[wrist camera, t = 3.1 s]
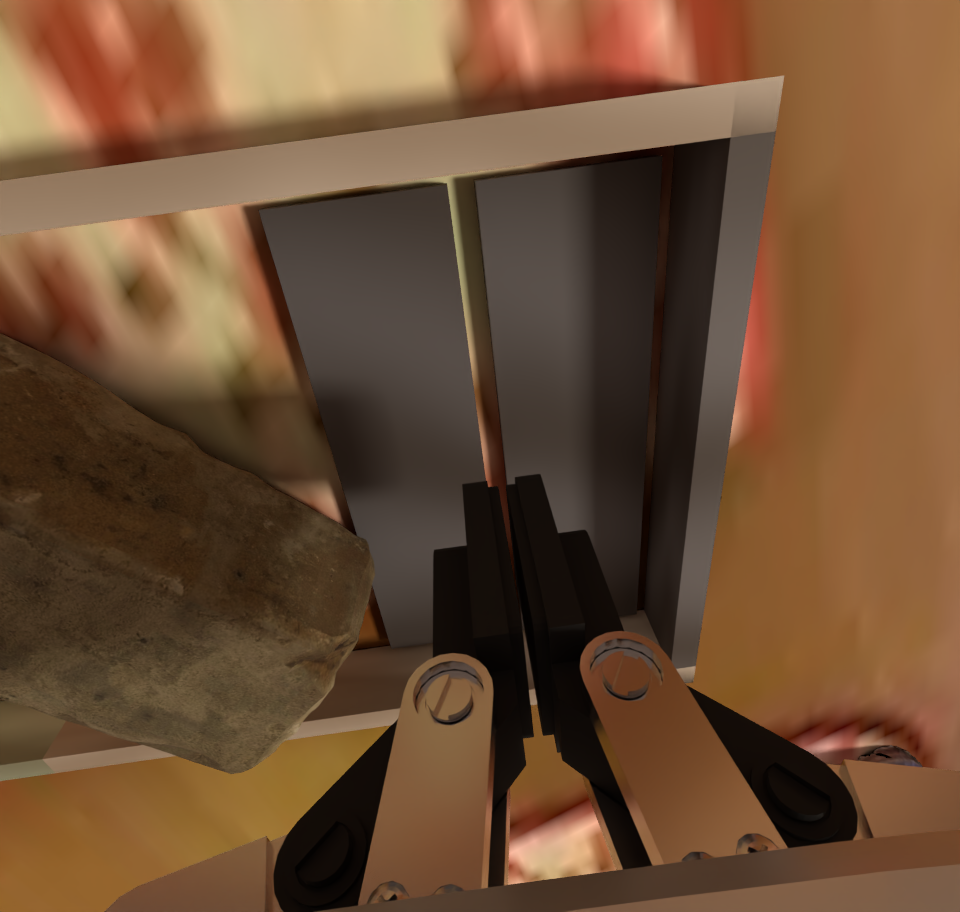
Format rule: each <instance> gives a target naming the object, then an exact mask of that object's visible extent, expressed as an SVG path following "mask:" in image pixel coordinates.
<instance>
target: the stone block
mask: <svg viewBox="0 0 960 912" xmlns="http://www.w3.org/2000/svg"><path fill="white" fill-rule="evenodd" d="M374 576H375V567H374V561H373V558H372V556H371V553H370V550H369V544H368V542H367V541H366V539H364V538H361V537H359V536H356V535H354V534H353V533H351V532H350V531H348V530H347V529H346V528H344V527H343V526H342V525H340V524H339V523H337V522H336V521H334V520H332V519H330V518H328V517H326V516H324V515H322V514H320V513H318V512H316V511H314V510H313V509H311V508H309V507H307V506H306V505H304V504H302V503H300V502H299V501H297V500H295V499H293V498H291V497H289V496H287V495H285V494H283V493H281V492H279V491H277V490H275V489H273V488H272V487H270V486H269V485H268V484H266V483H265V482H264V481H262V480H261V479H260V478H258V477H257V476H256V475H254V474H253V473H250V472H247V471H245V470H242V469H239V468H236V467H233V466H231V465H229V464H227V463H224V462H222V461H220V460H218V459H216V458H214V457H212V456H209V455H207V454H205V453H204V452H203V451H202V450H201V449H200V448H199V447H198V446H197V445H196V444H195V443H194V442H193V441H192V440H191V439H190V438H189V437H188V436H187V435H186V433H183V432H180V431H178V430H175V429H172V428H169V427H167V426H164V425H161V424H158V423H156V422H155V421H153V420H152V419H150V418H148V417H147V416H145V415H144V414H142V413H140V412H139V411H137V410H136V409H134V408H133V407H131V406H130V405H128V404H127V403H126V402H124V401H123V400H121V399H120V398H119V397H117V396H116V395H114V394H113V393H112V392H110V391H109V390H107V389H106V388H105V387H103V386H101V385H100V384H98V383H96V382H95V381H93V380H91V379H90V378H88V377H86V376H85V375H83V374H81V373H80V372H78V371H76V370H74V369H73V368H71V367H69V366H67V365H65V364H63V363H61V362H59V361H57V360H55V359H54V358H52V357H50V356H48V355H46V354H44V353H42V352H39V351H37V350H35V349H33V348H31V347H29V346H26V345H24V344H22V343H20V342H18V341H16V340H14V339H11V338H9V337H7V336H5V335H3V334H1V333H0V699H1V700H5V701H8V702H12V703H16V704H19V705H23V706H26V707H29V708H32V709H35V710H37V711H40V712H42V713H45V714H48V715H50V716H53V717H55V718H58V719H62V720H65V721H68V722H72V723H75V724H79V725H82V726H86V727H89V728H91V729H94V730H97V731H100V732H102V733H105V734H108V735H110V736H113V737H117V738H120V739H124V740H127V741H131V742H135V743H138V744H142V745H145V746H148V747H151V748H154V749H157V750H160V751H163V752H166V753H170V754H172V755H175V756H178V757H181V758H184V759H187V760H190V761H193V762H196V763H199V764H202V765H205V766H208V767H211V768H214V769H217V770H221V771H224V772H227V773H230V774H234V773H241V772H244V771H246V770H249V769H251V768H253V767H255V766H256V765H257V764H259V763H260V762H262V761H263V760H264V759H266V758H267V757H269V756H270V755H271V754H272V753H274V752H275V751H276V749H277V748H278V747H279V745H280V744H281V743H283V742H284V741H286V740H287V739H289V738H290V737H291V736H293V735H294V734H295V733H297V731H298V729H299V728H300V726H301V724H302V722H303V721H304V720H305V718H306V717H307V716H308V715H309V714H310V713H311V712H312V711H313V710H315V709H316V708H317V707H318V706H319V705H320V703H321V702H322V701H323V699H324V698H325V697H326V696H327V694H328V693H329V692H330V690H331V689H332V688H333V686H334V683H335V677H336V672H337V671H338V669H339V668H340V666H341V665H342V663H343V662H344V660H345V659H346V658H347V657H348V656H349V654H350V653H351V652H352V650H353V649H354V647H355V645H356V643H357V642H358V639H359V632H360V628H361V626H362V623H363V618H364V614H365V610H366V607H367V604H368V602H369V597H370V592H371V587H372V582H373V579H374Z"/></svg>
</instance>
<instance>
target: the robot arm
mask: <svg viewBox="0 0 960 912" xmlns="http://www.w3.org/2000/svg"><path fill="white" fill-rule="evenodd" d="M462 490H463V503H464V517H465V531H466V544H467V545H465V546H458V547H450V548H443V549H435V550H434V553H433V658H432V659H429V660H427V661H426V662H425V663H423V664H422V665H421V666H420V667H418V668H417V669H416V670H415V672H414V673H413V674H412V676H411V677H410V678H409V680H408V682H407V685H406V688H405V690H404V694H403V698H402V703H401V708H400V712H399V717H398V719H397V720H396V721H395V722H394V723H393V724H392V725H391V726H390V727H389V728H388V729H387V730H386V731H385V732H384V734H383V735H382V736H381V737H380V738H379V739H378V740H377V741H376V742H375V743H374V744H373V745H372V746H371V747H370V748H369V749H368V750H367V751H366V752H365V753H364V754H363V755H362V756H361V757H360V758H359V759H358V760H357V761H356V762H355V763H354V764H353V765H352V766H351V767H350V768H349V769H348V770H347V771H346V772H345V774H344V775H343V776H342V777H341V778H340V779H339V780H338V781H337V782H336V783H335V784H334V785H333V786H332V787H331V788H330V789H329V790H328V791H327V792H326V793H325V794H324V795H323V796H322V797H321V798H320V799H319V800H318V801H317V802H316V803H315V804H314V805H313V806H312V807H311V808H310V809H309V810H308V811H307V812H306V813H305V815H304V816H303V817H302V818H301V819H300V820H299V821H298V822H297V823H296V824H295V826H294V827H293V828H292V830H291V831H290V832H289V833H288V834H287V835H285V836H282V837H280V838H277V839H275V840H272V841H270V840H269V839H268V838H267V836H265V837H263V838H260V839H258V840H255V841H253V842H250V843H247V844H245V845H242V846H240V847H237V848H235V849H232V850H230V851H227V852H224V853H222V854H219V855H217V856H214V857H212V858H209V859H207V860H204V861H201V862H199V863H196V864H194V865H191V866H189V867H186V868H183V869H181V870H178V871H176V872H173V873H171V874H168V875H166V876H163V877H160V878H158V879H155V880H153V881H150V882H148V883H145V884H142V885H140V886H138V887H136V888H134V889H132V890H131V891H129V892H127V893H126V894H124V895H122V896H120V897H119V898H118V899H117V900H116V901H115V902H114V903H113V904H112V905H111V906H110V907H109V908H108V909H107V910H106V911H105V912H960V771H954V770H944V769H934V768H925V767H915V766H905V765H895V764H886V763H876V762H866V761H857V760H847V759H844V760H843V762H842V764H841V765H834V764H825V763H824V762H823V761H821V760H820V759H818V758H817V757H815V756H814V755H812V754H811V753H809V752H808V751H806V750H804V749H802V748H800V747H798V746H797V745H795V744H793V743H791V742H789V741H787V740H786V739H784V738H782V737H780V736H778V735H776V734H775V733H773V732H771V731H769V730H767V729H766V728H764V727H762V726H760V725H758V724H756V723H755V722H753V721H751V720H749V719H747V718H745V717H744V716H742V715H740V714H738V713H736V712H734V711H733V710H731V709H729V708H727V707H725V706H723V705H722V704H720V703H718V702H716V701H714V700H713V699H711V698H709V697H707V696H705V695H703V694H702V693H700V692H698V691H696V690H694V689H692V688H691V687H689V686H687V685H686V684H685V683H684V681H683V679H682V678H681V676H680V675H679V673H678V671H677V670H676V668H675V667H674V665H673V663H672V662H671V660H670V659H669V657H668V656H667V654H666V653H665V652H664V651H663V650H662V649H661V647H660V646H659V645H657V644H656V643H654V642H653V641H652V640H650V639H649V638H647V637H644V636H642V635H639V634H637V633H633V632H625V631H624V629H623V626H622V623H621V621H620V618H619V615H618V612H617V610H616V607H615V604H614V602H613V599H612V596H611V594H610V591H609V588H608V585H607V583H606V580H605V577H604V575H603V572H602V569H601V567H600V564H599V561H598V558H597V556H596V553H595V550H594V548H593V545H592V542H591V540H590V537H589V535H588V532H587V531H586V530H578V531H570V532H563V533H558V531H557V527H556V524H555V521H554V517H553V514H552V511H551V507H550V504H549V501H548V497H547V494H546V491H545V487H544V484H543V480H542V477H541V474H534V475H526V476H519V477H515V484H510V485H506V492H507V501H508V511H509V520H510V529H511V539H512V548H513V557H514V567H515V576H516V584H517V590H518V596H519V602H520V608H521V613H522V619H523V625H524V630H525V636H526V642H527V648H528V653H529V659H530V665H531V671H532V676H533V682H534V688H535V693H536V699H537V705H538V711H539V716H540V722H541V728H542V733H543V736H545V735H552V734H554V738H555V743H556V748H557V753H559V752H561V756H562V760H563V761H564V762H566V763H567V764H568V765H570V766H571V767H572V768H574V769H575V770H576V771H578V772H579V773H581V774H582V776H583V780H584V785H585V788H586V790H587V793H588V796H589V798H590V801H591V804H592V806H593V809H594V812H595V815H596V817H597V820H598V823H599V825H600V828H601V831H602V833H603V836H604V839H605V841H606V844H607V847H608V849H609V852H610V855H611V857H612V860H613V863H614V865H615V868H616V871H609V872H602V873H594V874H587V875H579V876H572V877H564V878H557V879H549V880H542V881H534V882H527V883H519V884H512V885H508V862H509V827H510V786H511V785H512V783H513V782H514V781H515V779H516V778H517V777H518V775H519V774H520V773H521V771H522V770H523V769H524V767H525V766H526V760H525V752H524V744H523V738H530V737H534V733H533V724H532V714H531V705H530V695H529V686H528V676H527V666H526V657H525V647H524V638H523V631H522V624H521V618H520V612H519V606H518V600H517V594H516V588H515V582H514V576H513V571H512V565H511V559H510V553H509V547H508V541H507V536H506V530H505V524H504V518H503V512H502V506H501V500H500V495H499V489H498V486H495V487H488V483H487V481H481V482H474V483H466V484H462Z"/></svg>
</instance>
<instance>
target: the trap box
mask: <svg viewBox="0 0 960 912" xmlns="http://www.w3.org/2000/svg"><path fill="white" fill-rule="evenodd" d="M783 80H784V76H778V77H771V78H763V79H756V80H748V81H741V82H733V83H726V84H718V85H711V86H704V87H696V88H689V89H681V90H674V91H666V92H659V93H651V94H644V95H636V96H629V97H621V98H614V99H607V100H599V101H592V102H584V103H577V104H569V105H562V106H554V107H547V108H539V109H532V110H525V111H517V112H510V113H502V114H495V115H487V116H480V117H472V118H465V119H457V120H450V121H442V122H435V123H428V124H420V125H413V126H405V127H398V128H390V129H383V130H375V131H368V132H360V133H353V134H345V135H338V136H331V137H323V138H316V139H308V140H301V141H293V142H286V143H278V144H271V145H263V146H256V147H249V148H241V149H234V150H226V151H219V152H211V153H204V154H196V155H189V156H181V157H174V158H166V159H159V160H152V161H144V162H137V163H129V164H122V165H114V166H107V167H99V168H92V169H84V170H77V171H70V172H62V173H55V174H47V175H40V176H32V177H25V178H17V179H10V180H2V181H0V236H3V235H10V234H18V233H25V232H33V231H40V230H47V229H55V228H62V227H70V226H77V225H85V224H92V223H99V222H107V221H114V220H122V219H129V218H136V217H144V216H151V215H159V214H166V213H174V212H181V211H188V210H196V209H203V208H211V207H218V206H225V205H233V204H240V203H248V202H255V201H262V200H270V199H277V198H285V197H292V196H300V195H307V194H314V193H322V192H329V191H337V190H344V189H351V188H359V187H366V186H374V185H381V184H389V183H396V182H403V181H411V180H418V179H426V178H433V177H440V176H448V175H455V174H463V173H470V172H478V171H485V170H492V169H500V168H507V167H515V166H522V165H529V164H537V163H544V162H552V161H559V160H567V159H574V158H581V157H589V156H596V155H604V154H611V153H618V152H626V151H633V150H641V149H648V148H656V147H663V146H670V145H674V159H673V174H672V190H671V205H670V220H669V235H668V250H667V265H666V281H665V296H664V311H663V326H662V341H661V356H660V372H659V387H658V402H657V417H656V432H655V447H654V463H653V478H652V493H651V508H650V523H649V538H648V554H647V569H646V584H645V599H644V610H639V611H637V601H638V583H639V565H640V547H641V530H642V512H643V494H644V477H645V459H646V441H647V423H648V406H649V388H650V370H651V352H652V335H653V317H654V299H655V282H656V264H657V246H658V228H659V211H660V193H661V175H662V157H663V156H660V155H653V156H646V157H638V158H631V159H624V160H616V161H609V162H601V163H594V164H587V165H579V166H572V167H564V168H557V169H549V170H542V171H535V172H527V173H520V174H512V175H505V176H498V177H490V178H483V179H475V180H474V185H475V195H476V204H477V213H478V223H479V232H480V241H481V251H482V260H483V269H484V278H485V288H486V297H487V306H488V316H489V325H490V334H491V344H492V353H493V362H494V372H495V381H496V390H497V400H498V409H499V418H500V428H501V437H502V446H503V456H504V465H505V474H506V484H507V485H510V484H515V477H519V476H526V475H534V474H541V477H542V480H543V484H544V487H545V491H546V494H547V497H548V501H549V504H550V507H551V511H552V514H553V517H554V521H555V524H556V527H557V531H558V533H563V532H570V531H578V530H586V531H587V532H588V535H589V537H590V540H591V542H592V545H593V548H594V550H595V553H596V556H597V558H598V561H599V564H600V567H601V569H602V572H603V575H604V577H605V580H606V583H607V585H608V588H609V591H610V594H611V596H612V599H613V602H614V604H615V607H616V610H617V612H618V615H619V618H620V621H621V623H622V626H623V629H624V631H625V632H633V633H637V634H639V635H642V636H644V637H647V638H649V639H650V640H652V641H653V642H654V643H656V644H657V645H659V646H660V647H661V649H662V650H663V651H664V652H665V653H666V654H667V656H668V657H669V659H670V660H671V662H672V663H673V665H674V667H675V668H676V670H677V671H678V673H679V675H680V676H681V678H682V679H683V681H684V683H690V682H693V679H694V673H695V666H696V659H697V653H698V646H699V639H700V633H701V626H702V619H703V613H704V606H705V599H706V593H707V586H708V579H709V573H710V566H711V559H712V553H713V546H714V540H715V533H716V526H717V520H718V513H719V506H720V500H721V493H722V486H723V480H724V473H725V466H726V460H727V453H728V446H729V440H730V433H731V426H732V420H733V413H734V406H735V400H736V393H737V386H738V380H739V373H740V366H741V360H742V353H743V346H744V340H745V333H746V326H747V320H748V313H749V306H750V300H751V293H752V286H753V280H754V273H755V266H756V260H757V253H758V246H759V240H760V233H761V226H762V220H763V213H764V206H765V200H766V193H767V186H768V180H769V173H770V166H771V160H772V153H773V146H774V140H775V133H776V126H777V120H778V113H779V106H780V100H781V93H782V86H783ZM259 214H260V217H261V220H262V224H263V227H264V230H265V234H266V237H267V240H268V243H269V247H270V250H271V253H272V257H273V260H274V263H275V267H276V270H277V273H278V276H279V280H280V283H281V286H282V290H283V293H284V296H285V299H286V303H287V306H288V309H289V313H290V316H291V319H292V323H293V326H294V329H295V332H296V336H297V339H298V342H299V346H300V349H301V352H302V356H303V359H304V362H305V365H306V369H307V372H308V375H309V379H310V382H311V385H312V388H313V392H314V395H315V398H316V402H317V405H318V408H319V412H320V415H321V418H322V421H323V425H324V428H325V431H326V435H327V438H328V441H329V445H330V448H331V451H332V454H333V458H334V461H335V464H336V468H337V471H338V474H339V477H340V481H341V484H342V487H343V491H344V494H345V497H346V501H347V504H348V507H349V510H350V514H351V517H352V520H353V524H354V527H355V530H356V533H357V536H359V537H361V538H364V539H366V541H367V542H368V544H369V550H370V553H371V556H372V558H373V561H374V567H375V576H374V579H373V582H372V586H373V590H374V593H375V596H376V599H377V603H378V606H379V609H380V613H381V616H382V619H383V622H384V626H385V629H386V632H387V636H388V639H389V642H390V646H385V647H378V648H371V649H364V650H357V651H352V652H351V653H350V654H349V656H348V657H347V658H346V659H345V660H344V662H343V663H342V665H341V666H340V668H339V669H338V671H337V672H336V677H335V683H334V686H333V688H332V689H331V690H330V692H329V693H328V694H327V696H326V697H325V698H324V699H323V701H322V702H321V703H320V705H319V706H318V707H317V708H316V709H315V710H313V711H312V712H311V713H310V714H309V715H308V716H307V717H306V718H305V720H304V721H303V722H302V724H301V726H300V728H299V729H298V731H297V733H295V734H294V735H293V736H291V737H290V738H289V739H287V740H290V739H297V738H304V737H311V736H318V735H325V734H332V733H339V732H346V731H353V730H360V729H367V728H374V727H381V726H388V725H392V724H393V723H394V722H395V721H396V720H397V719H398V717H399V712H400V708H401V703H402V698H403V694H404V690H405V688H406V685H407V682H408V680H409V678H410V677H411V676H412V674H413V673H414V672H415V670H416V669H417V668H418V667H420V666H421V665H422V664H423V663H425V662H426V661H427V660H429V659H432V658H433V553H434V550H435V549H443V548H450V547H458V546H465V545H467V544H466V531H465V517H464V503H463V490H462V484H466V483H474V482H481V481H486V478H485V471H484V463H483V455H482V448H481V440H480V432H479V425H478V417H477V410H476V402H475V394H474V387H473V379H472V371H471V364H470V356H469V349H468V341H467V333H466V326H465V318H464V311H463V303H462V295H461V288H460V280H459V272H458V265H457V257H456V250H455V242H454V234H453V227H452V219H451V211H450V204H449V196H448V189H447V183H446V184H438V185H431V186H424V187H416V188H409V189H401V190H394V191H386V192H379V193H372V194H364V195H357V196H349V197H342V198H335V199H327V200H320V201H312V202H305V203H298V204H290V205H283V206H275V207H268V208H263V209H260V210H259ZM519 605H520V602H519ZM520 614H521V623H522V631H523V638H524V647H525V657H526V666H527V676H528V686H529V695H530V705H535V704H537V699H536V693H535V688H534V682H533V676H532V671H531V665H530V659H529V653H528V648H527V642H526V636H525V630H524V625H523V619H522V613H521V608H520ZM171 756H175V755H172V754H170V753H166V752H163V751H160V750H157V749H154V748H151V747H148V746H145V745H142V744H138V743H135V742H131V741H127V740H124V739H120V738H117V737H113V736H110V735H108V734H105V733H102V732H100V731H97V730H94V729H91V728H89V727H86V726H82V725H79V724H75V723H72V722H68V721H65V720H62V719H58V718H55V717H53V716H50V715H48V714H45V713H42V712H40V711H37V710H35V709H32V708H29V707H26V706H23V705H19V704H16V703H12V702H8V701H5V700H3V701H0V781H3V780H10V779H17V778H24V777H31V776H38V775H45V774H52V773H59V772H66V771H73V770H80V769H87V768H94V767H101V766H108V765H115V764H122V763H129V762H136V761H143V760H150V759H157V758H164V757H171Z"/></svg>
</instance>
